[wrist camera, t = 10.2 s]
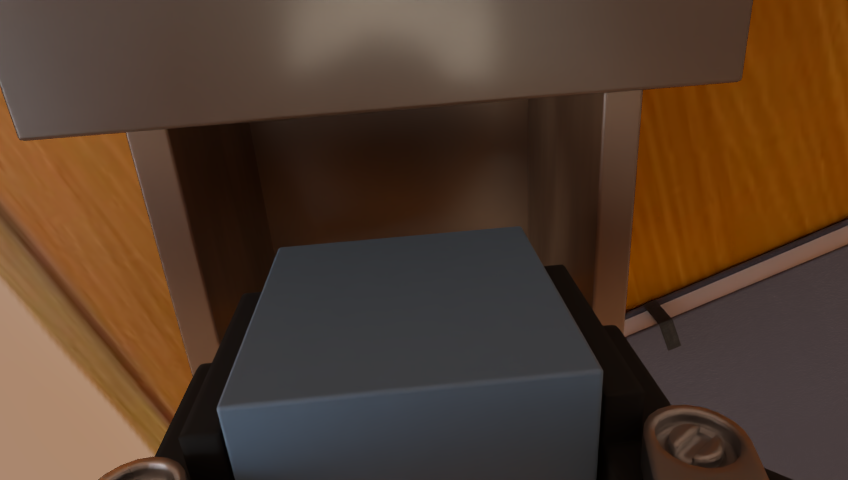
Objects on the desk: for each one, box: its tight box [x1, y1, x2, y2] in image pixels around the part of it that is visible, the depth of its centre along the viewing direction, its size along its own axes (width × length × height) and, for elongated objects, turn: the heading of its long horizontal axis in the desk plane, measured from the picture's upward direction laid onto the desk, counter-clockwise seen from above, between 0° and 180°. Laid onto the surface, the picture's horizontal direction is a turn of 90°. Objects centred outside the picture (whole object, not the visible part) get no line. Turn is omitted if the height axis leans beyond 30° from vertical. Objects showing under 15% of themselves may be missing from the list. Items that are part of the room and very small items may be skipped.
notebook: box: [624, 219, 848, 480], centre depth 26 cm, size 13×2×21 cm
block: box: [217, 226, 603, 480], centre depth 10 cm, size 4×4×4 cm
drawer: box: [126, 90, 643, 376], centre depth 17 cm, size 18×11×8 cm, turn 4°
